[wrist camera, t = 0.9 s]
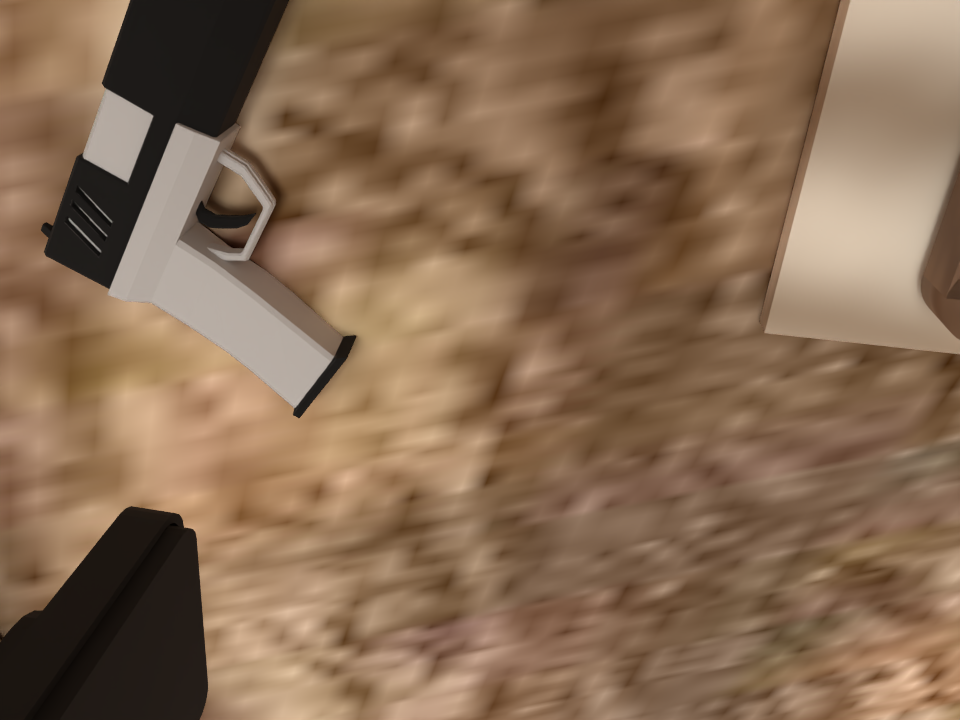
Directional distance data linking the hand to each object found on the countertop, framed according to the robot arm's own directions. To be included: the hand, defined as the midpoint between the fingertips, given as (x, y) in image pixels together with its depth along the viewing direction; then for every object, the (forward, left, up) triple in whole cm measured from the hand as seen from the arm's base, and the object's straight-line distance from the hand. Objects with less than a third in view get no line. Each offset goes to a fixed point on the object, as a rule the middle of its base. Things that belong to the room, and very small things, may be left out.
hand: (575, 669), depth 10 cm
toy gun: (+1, -11, -23) cm, 25 cm away
